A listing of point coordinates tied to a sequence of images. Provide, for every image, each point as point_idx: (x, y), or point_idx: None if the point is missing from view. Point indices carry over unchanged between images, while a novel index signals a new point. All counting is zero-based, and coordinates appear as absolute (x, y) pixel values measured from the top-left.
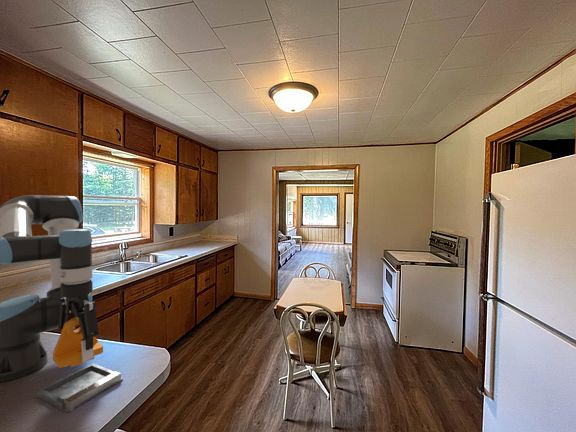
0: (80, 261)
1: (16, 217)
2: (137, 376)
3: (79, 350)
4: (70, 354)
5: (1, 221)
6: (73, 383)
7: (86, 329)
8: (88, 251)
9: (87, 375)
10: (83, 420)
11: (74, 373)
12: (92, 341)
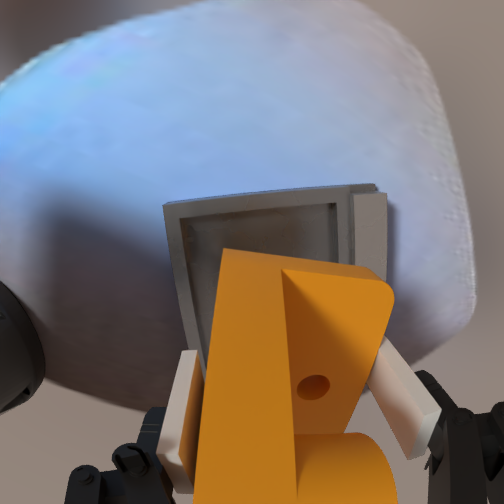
0: None
1: None
2: (396, 141)
3: (296, 384)
4: (305, 423)
5: None
6: None
7: (488, 493)
8: None
9: (222, 249)
10: (426, 338)
11: (186, 288)
12: (447, 399)
